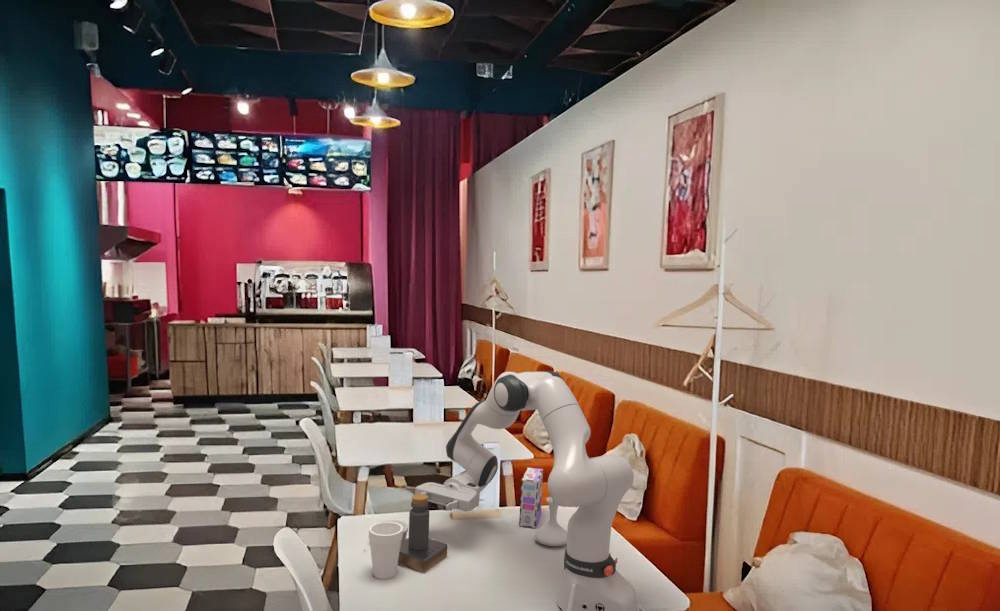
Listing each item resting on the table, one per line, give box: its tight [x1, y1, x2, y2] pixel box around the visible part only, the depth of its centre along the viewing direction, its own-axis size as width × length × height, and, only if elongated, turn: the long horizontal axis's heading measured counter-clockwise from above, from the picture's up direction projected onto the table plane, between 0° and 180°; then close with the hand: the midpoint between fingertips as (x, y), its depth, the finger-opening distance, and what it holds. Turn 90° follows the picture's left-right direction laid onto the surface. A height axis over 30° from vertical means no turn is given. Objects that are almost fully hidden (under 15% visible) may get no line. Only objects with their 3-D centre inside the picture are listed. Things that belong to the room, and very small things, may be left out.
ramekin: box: [377, 519, 409, 542], centre depth 198 cm, size 11×11×5 cm
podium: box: [397, 537, 448, 574], centre depth 188 cm, size 12×12×4 cm
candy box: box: [518, 467, 544, 529], centre depth 220 cm, size 14×6×16 cm, turn 168°
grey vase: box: [533, 496, 568, 547], centre depth 204 cm, size 13×11×25 cm
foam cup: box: [368, 521, 403, 580], centre depth 179 cm, size 10×9×13 cm
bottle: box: [408, 493, 430, 550], centre depth 188 cm, size 6×6×15 cm
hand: (432, 504), depth 193 cm, fingers open, 8 cm apart
